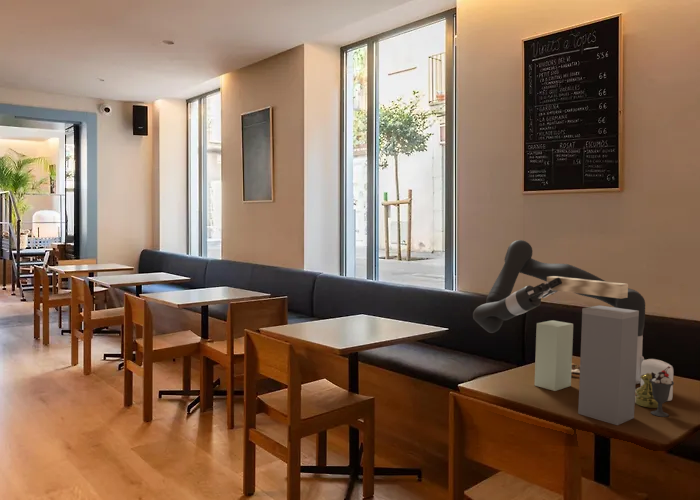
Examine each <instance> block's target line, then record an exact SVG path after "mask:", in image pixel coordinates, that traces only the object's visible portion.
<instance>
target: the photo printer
mask: <svg viewBox="0 0 700 500" xmlns="http://www.w3.org/2000/svg"><path fill="white" fill-rule="evenodd" d="M668 366H669V367H670V368H669V369H668ZM666 368H667V369H668V370H667V369H666ZM665 369H666V370H667V374H669V376H668V377H669V378H670V379H671V381H673V382H674V367H673V365H671V364H670V363H668V362H666V361H663V360H660V359H656V358H648V359H644V360H643V362H642V364H641V375H643V374H646V373H654V374H656V373H658V372H662V370H665ZM666 370H665V371H666ZM643 384H644V381H643V380H642V379H641V383H640V386H641V385H643ZM673 393H674V384H673V385H672V386H671V388H670V393H669V397H668V400H667V401H666V402H671V401H672V400H673V395H674V394H673Z"/></svg>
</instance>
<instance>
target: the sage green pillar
mask: <svg viewBox="0 0 700 500" xmlns="http://www.w3.org/2000/svg"><path fill="white" fill-rule="evenodd" d="M535 336H536V337H535V362H534V386H535V387H540V388H541V389H542V388H543V389H546V390H551V391H553V392H556V391H559V390H562V389H566V388H568V387H571V385H572V377H571V370H572V364H573V343H574V340H573V339H574V323H571V322H565V321H559V320H554V319H553V320H547V321H542V322H536V333H535Z"/></svg>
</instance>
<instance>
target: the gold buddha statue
mask: <svg viewBox="0 0 700 500" xmlns="http://www.w3.org/2000/svg"><path fill="white" fill-rule="evenodd" d="M640 378H641V379H642V380H643V381H644V384H643V385H641V384H640V386H638V387H636V388H635V404H636V405H637V406H640V407H644V408H649V409H657V408H658V402H657V401H656V400H655V399H654V398H653V394H652V384H651V381H649V380H650V379H652V375H651V373H646V374H643V375H641V376H640Z"/></svg>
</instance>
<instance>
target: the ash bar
mask: <svg viewBox="0 0 700 500" xmlns="http://www.w3.org/2000/svg"><path fill="white" fill-rule="evenodd" d="M556 278H558V276H549V277H547V282H550V281H552V280H554V279H556ZM559 278H560V279H561V281H562V284H560V285H558V286H556V287H554V288H552V287H551V288H552V289H551V290H556V291H557V292H564V293H565V292H566V293H573V294H576V293H580V294H588V295H596V296H604V297H612V298H620V299H622V298H628V288H629V283H624V282H623V283H622V282H613V281H607V282H605V281H606V280H604V281H596V280H587V279H577V278H568V277H559Z"/></svg>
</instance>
